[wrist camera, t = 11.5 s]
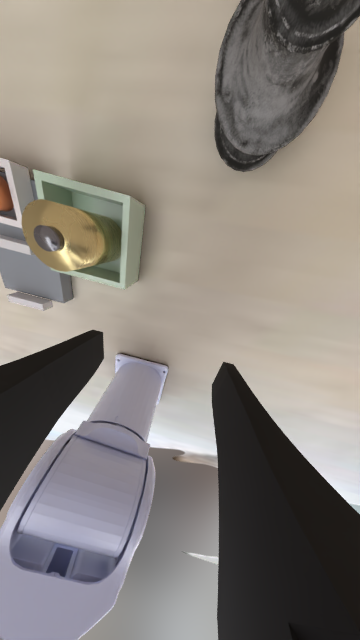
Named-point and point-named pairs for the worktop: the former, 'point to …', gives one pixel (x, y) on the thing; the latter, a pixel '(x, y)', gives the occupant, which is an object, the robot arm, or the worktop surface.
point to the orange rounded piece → (5, 196)
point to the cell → (70, 236)
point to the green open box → (107, 204)
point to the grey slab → (26, 249)
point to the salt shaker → (275, 73)
